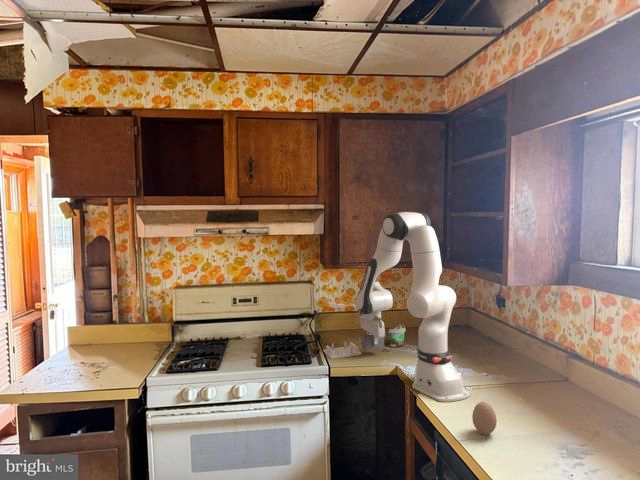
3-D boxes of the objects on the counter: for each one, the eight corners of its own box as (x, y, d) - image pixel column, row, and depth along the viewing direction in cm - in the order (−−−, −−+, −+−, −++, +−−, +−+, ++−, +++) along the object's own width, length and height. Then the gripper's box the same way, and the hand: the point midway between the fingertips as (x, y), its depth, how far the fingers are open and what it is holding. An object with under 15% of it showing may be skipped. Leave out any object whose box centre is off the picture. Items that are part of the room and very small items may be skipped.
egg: (490, 427, 122) (489, 396, 121) (500, 439, 115) (500, 406, 115) (468, 428, 122) (468, 397, 121) (478, 440, 115) (478, 407, 114)
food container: (399, 350, 197) (399, 330, 197) (388, 348, 201) (388, 329, 201) (409, 343, 207) (409, 325, 207) (399, 342, 211) (399, 323, 210)
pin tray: (361, 354, 192) (361, 346, 192) (331, 359, 187) (330, 350, 187) (352, 347, 203) (352, 340, 203) (323, 351, 198) (323, 343, 198)
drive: (384, 347, 189) (384, 334, 188) (365, 350, 186) (364, 337, 185) (380, 345, 192) (380, 332, 192) (362, 347, 189) (361, 334, 189)
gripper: (387, 317, 180) (388, 347, 180) (369, 309, 199) (369, 336, 199) (375, 319, 178) (376, 349, 178) (357, 310, 197) (358, 337, 198)
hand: (372, 342), depth 189 cm, fingers closed on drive, 4 cm apart
